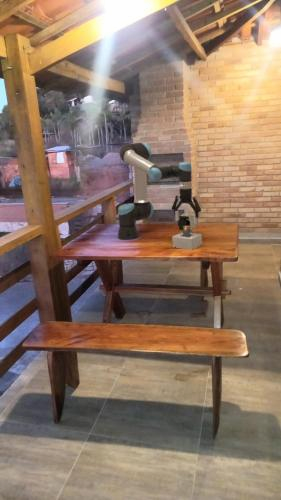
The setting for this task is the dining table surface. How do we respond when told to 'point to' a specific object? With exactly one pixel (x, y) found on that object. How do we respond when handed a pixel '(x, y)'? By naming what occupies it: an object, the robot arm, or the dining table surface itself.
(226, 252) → the dining table surface
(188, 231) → the steel pin
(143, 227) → the dining table surface
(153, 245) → the dining table surface
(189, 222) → the ball valve
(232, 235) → the dining table surface
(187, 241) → the block
